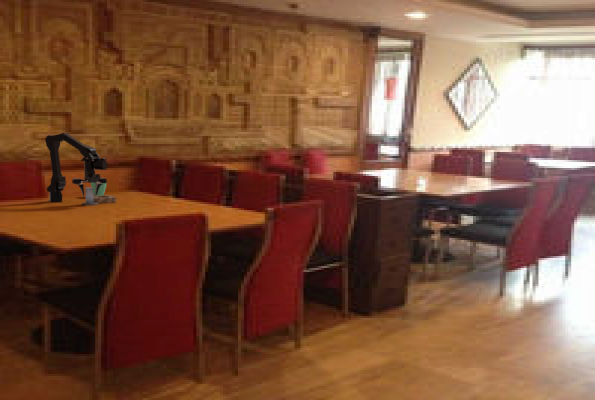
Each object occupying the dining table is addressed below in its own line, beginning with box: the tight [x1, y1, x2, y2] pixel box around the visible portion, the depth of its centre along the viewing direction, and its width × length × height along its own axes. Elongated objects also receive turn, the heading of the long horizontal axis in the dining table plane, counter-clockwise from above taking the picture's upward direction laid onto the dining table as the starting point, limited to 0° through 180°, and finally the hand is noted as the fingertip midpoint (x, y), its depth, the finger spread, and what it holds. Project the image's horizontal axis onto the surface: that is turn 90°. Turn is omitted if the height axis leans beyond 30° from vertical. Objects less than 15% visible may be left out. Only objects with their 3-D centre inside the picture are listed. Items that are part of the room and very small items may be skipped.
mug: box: [90, 182, 108, 196], centre depth 406 cm, size 15×10×10 cm
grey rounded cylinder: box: [84, 186, 94, 204], centre depth 370 cm, size 4×4×9 cm
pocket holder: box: [93, 194, 117, 204], centre depth 383 cm, size 12×12×3 cm
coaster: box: [81, 201, 99, 206], centre depth 371 cm, size 9×9×1 cm
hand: (89, 195), depth 371 cm, fingers open, 7 cm apart
